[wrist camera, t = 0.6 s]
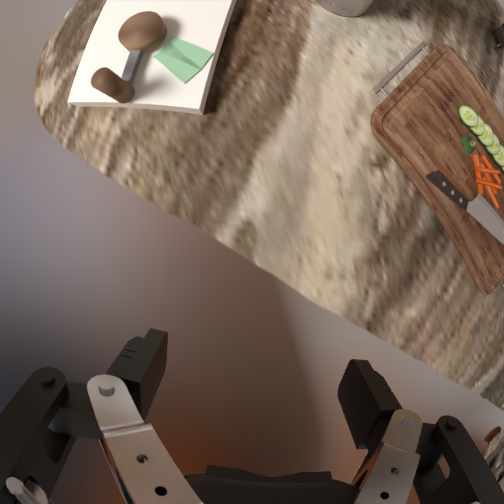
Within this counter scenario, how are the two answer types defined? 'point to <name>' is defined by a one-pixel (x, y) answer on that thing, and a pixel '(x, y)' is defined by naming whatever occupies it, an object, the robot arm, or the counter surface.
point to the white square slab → (157, 55)
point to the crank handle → (131, 54)
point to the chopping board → (450, 153)
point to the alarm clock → (499, 36)
